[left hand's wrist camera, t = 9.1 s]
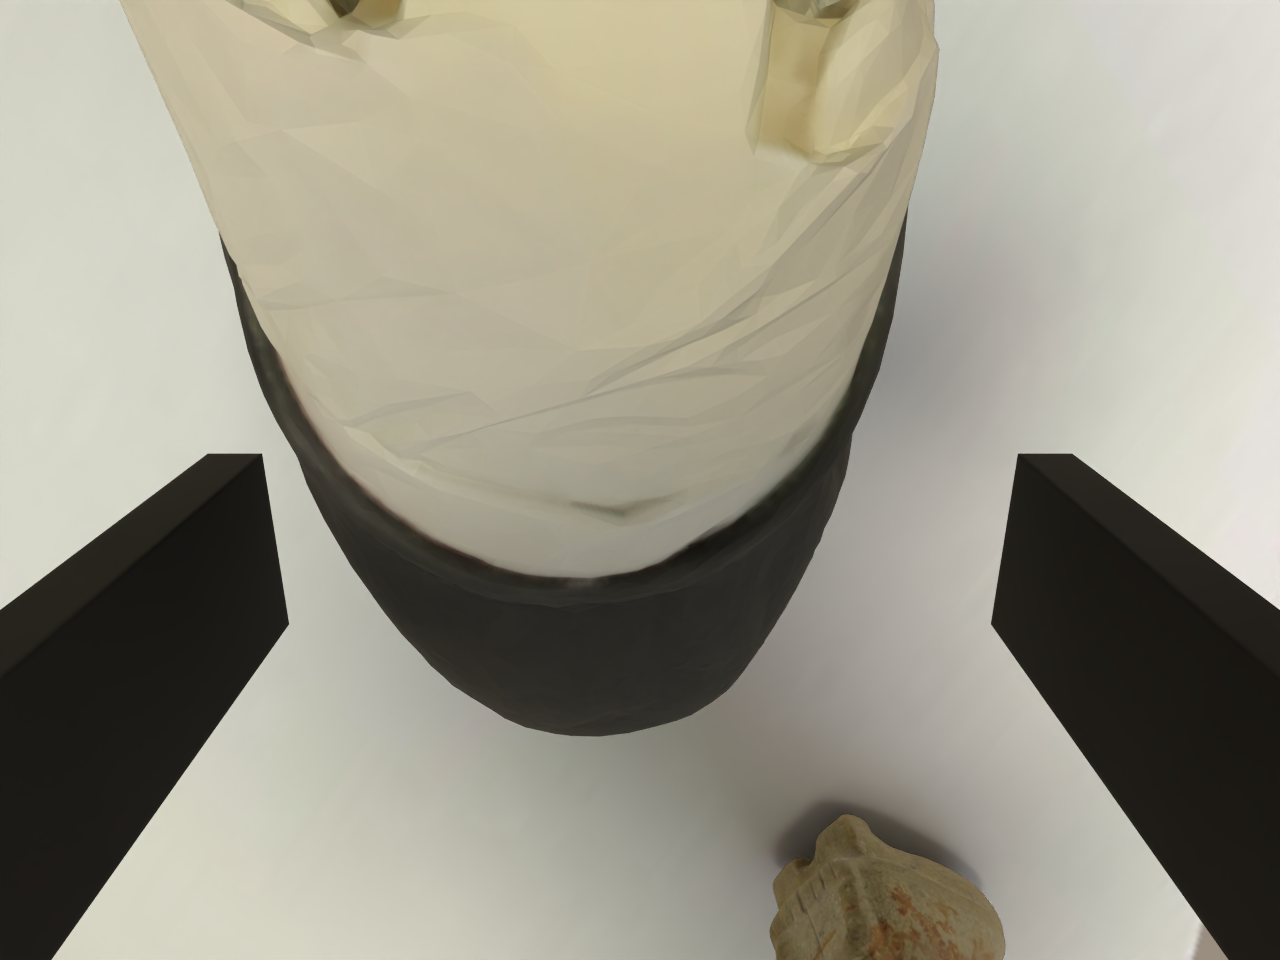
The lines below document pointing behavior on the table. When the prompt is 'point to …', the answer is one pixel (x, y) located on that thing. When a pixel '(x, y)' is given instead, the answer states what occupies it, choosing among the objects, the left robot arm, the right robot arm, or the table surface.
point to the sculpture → (878, 904)
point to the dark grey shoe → (562, 306)
